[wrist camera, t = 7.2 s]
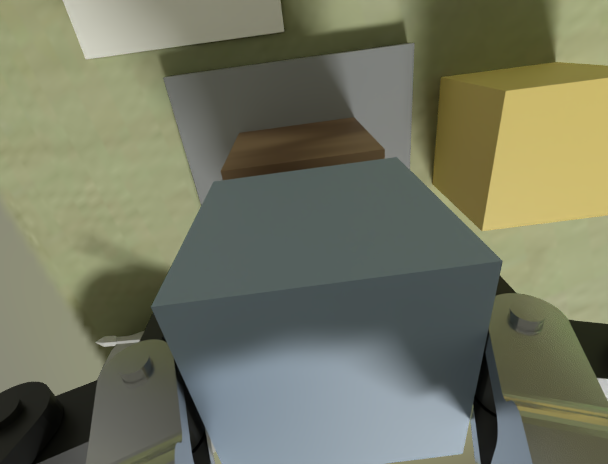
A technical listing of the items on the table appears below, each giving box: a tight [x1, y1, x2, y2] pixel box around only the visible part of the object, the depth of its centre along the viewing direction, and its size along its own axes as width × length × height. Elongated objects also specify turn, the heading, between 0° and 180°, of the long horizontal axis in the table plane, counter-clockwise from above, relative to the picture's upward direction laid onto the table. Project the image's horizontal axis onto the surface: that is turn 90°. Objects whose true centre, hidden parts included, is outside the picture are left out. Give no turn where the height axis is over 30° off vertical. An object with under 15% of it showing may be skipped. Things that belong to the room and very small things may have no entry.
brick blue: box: [151, 157, 502, 464], centre depth 8 cm, size 5×5×5 cm
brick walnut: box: [221, 117, 385, 180], centre depth 14 cm, size 5×5×5 cm
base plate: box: [163, 43, 414, 206], centre depth 16 cm, size 10×10×1 cm
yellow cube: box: [432, 62, 608, 231], centre depth 14 cm, size 5×5×5 cm
